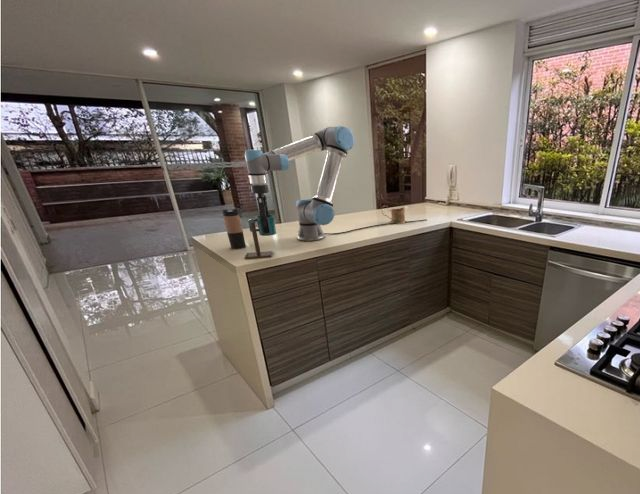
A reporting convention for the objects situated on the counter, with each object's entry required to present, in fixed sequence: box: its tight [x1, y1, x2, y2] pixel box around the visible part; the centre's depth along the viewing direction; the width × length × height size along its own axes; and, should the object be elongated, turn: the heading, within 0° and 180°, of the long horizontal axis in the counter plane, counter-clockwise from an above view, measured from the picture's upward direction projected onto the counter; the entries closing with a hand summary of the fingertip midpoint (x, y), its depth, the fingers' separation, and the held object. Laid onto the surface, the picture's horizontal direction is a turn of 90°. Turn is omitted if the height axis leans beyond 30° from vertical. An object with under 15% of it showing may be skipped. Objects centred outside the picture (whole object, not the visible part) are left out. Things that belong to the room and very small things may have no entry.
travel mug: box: [222, 208, 246, 250], centre depth 183 cm, size 8×8×20 cm
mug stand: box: [244, 221, 274, 260], centre depth 171 cm, size 12×14×18 cm
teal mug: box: [247, 214, 277, 237], centre depth 171 cm, size 12×8×9 cm, turn 107°
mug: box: [380, 205, 407, 225], centre depth 246 cm, size 12×18×12 cm, turn 96°
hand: (267, 231), depth 173 cm, fingers closed on teal mug, 8 cm apart
